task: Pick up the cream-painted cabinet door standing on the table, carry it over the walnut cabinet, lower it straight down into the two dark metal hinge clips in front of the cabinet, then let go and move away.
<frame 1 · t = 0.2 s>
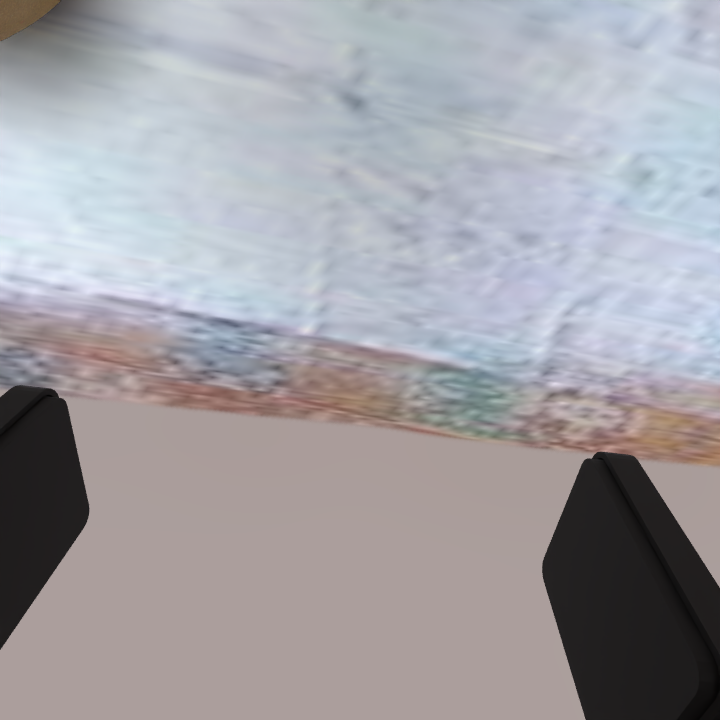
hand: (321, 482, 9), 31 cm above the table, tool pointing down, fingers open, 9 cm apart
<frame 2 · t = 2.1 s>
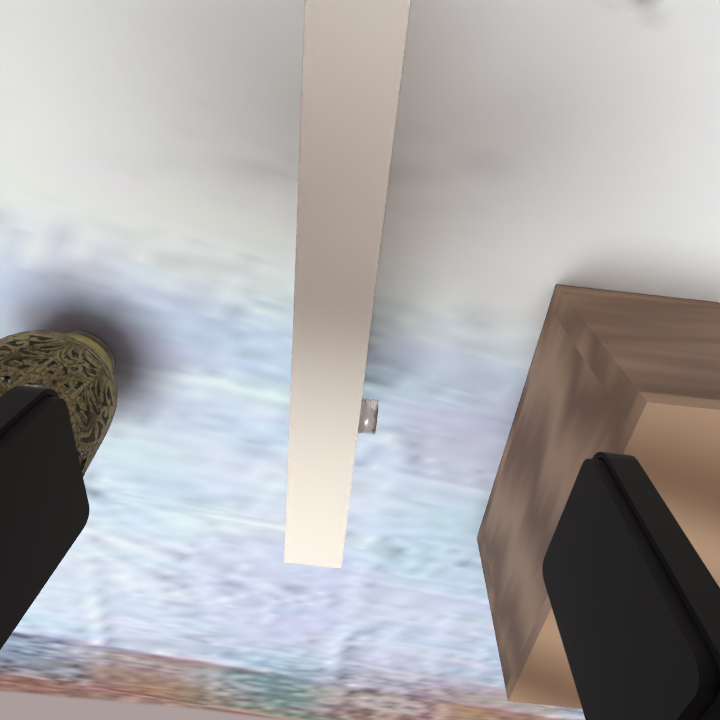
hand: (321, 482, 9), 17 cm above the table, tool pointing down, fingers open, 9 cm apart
cabinet body: (579, 438, 29), on the table
dark textured ornament: (88, 353, 28), on the table
cabinet door: (355, 220, 24), on the table
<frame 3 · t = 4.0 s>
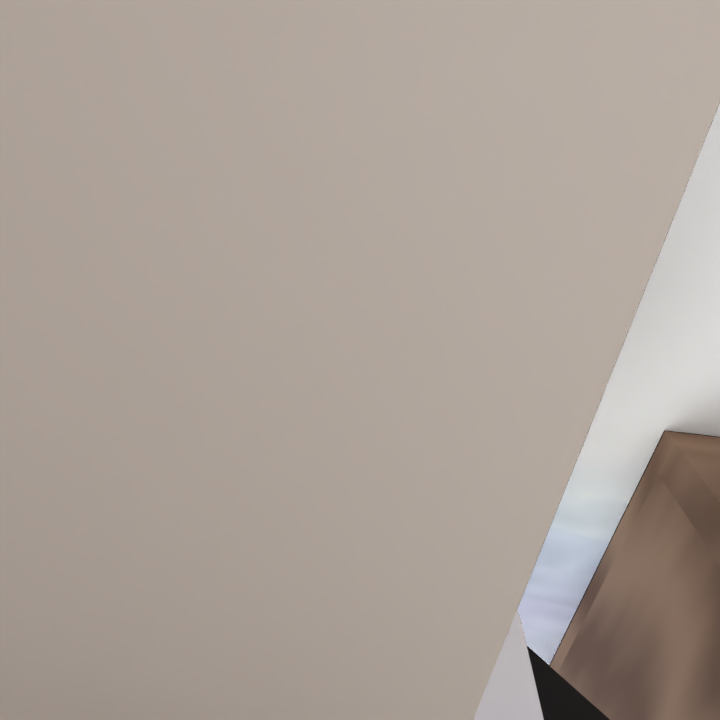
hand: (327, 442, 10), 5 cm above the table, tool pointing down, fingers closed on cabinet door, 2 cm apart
cabinet body: (676, 626, 20), on the table
cabinet door: (346, 338, 15), on the table, touching gripper
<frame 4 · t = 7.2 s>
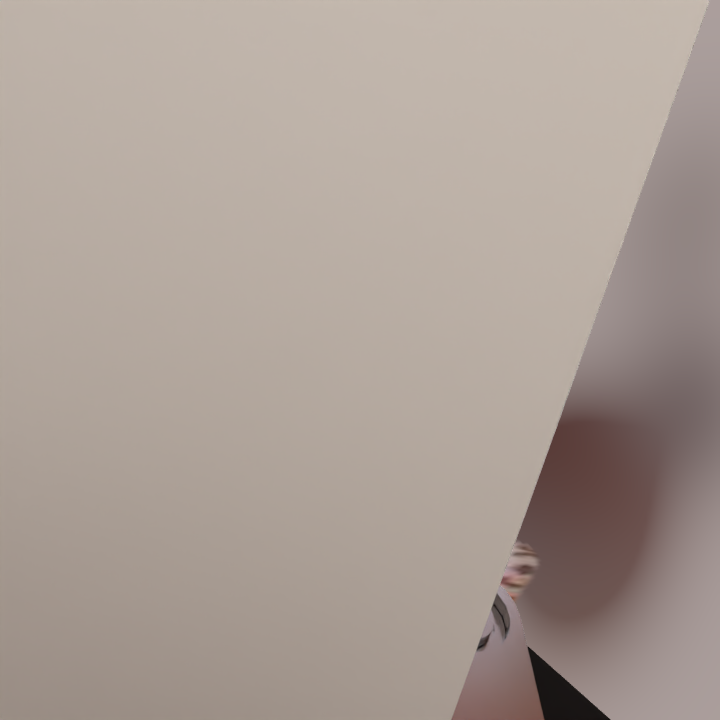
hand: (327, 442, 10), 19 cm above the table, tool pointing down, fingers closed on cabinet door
cabinet door: (346, 336, 15), point 15 cm above the table, touching gripper
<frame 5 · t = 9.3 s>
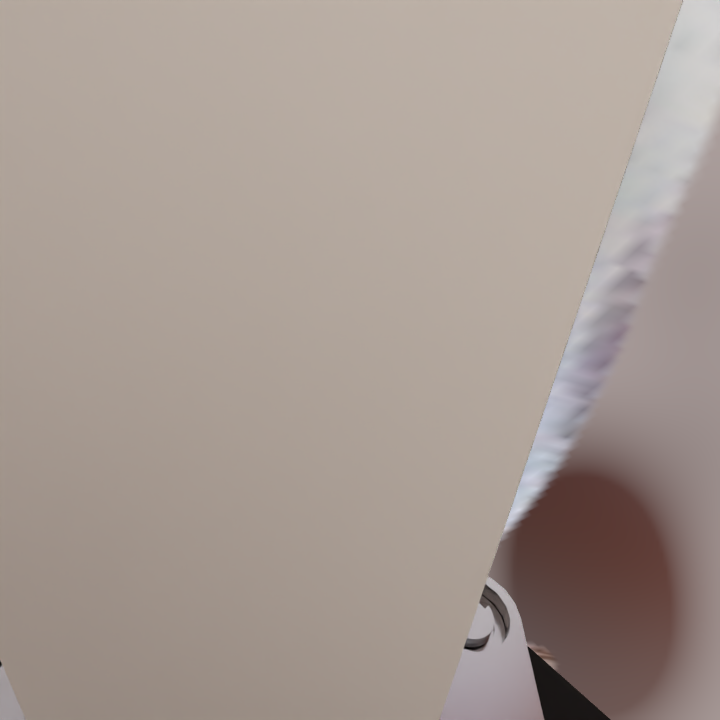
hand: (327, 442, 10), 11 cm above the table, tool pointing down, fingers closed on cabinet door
cabinet door: (347, 333, 15), point 6 cm above the table, touching gripper
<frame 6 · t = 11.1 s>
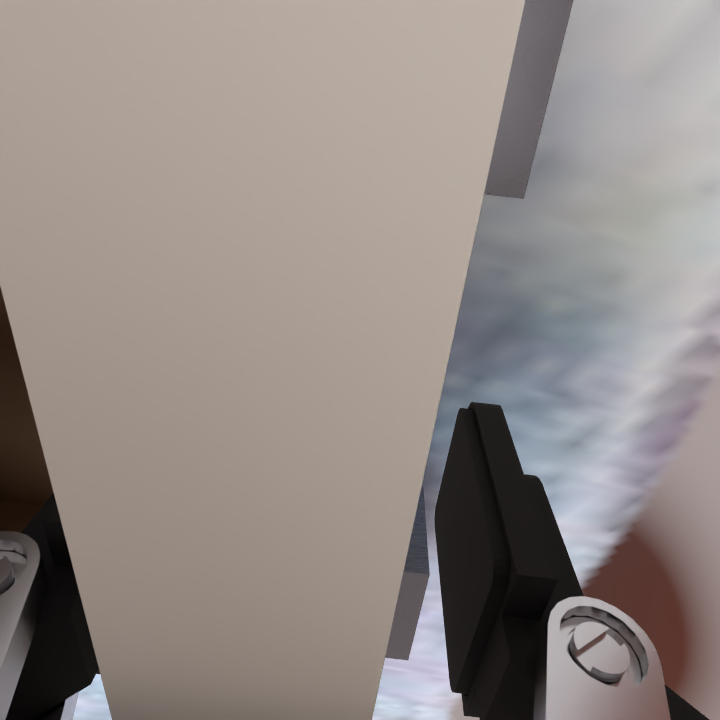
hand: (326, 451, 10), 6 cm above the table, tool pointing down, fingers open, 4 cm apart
cabinet door: (345, 319, 15), on the table
hinge clips: (348, 325, 15), on the table
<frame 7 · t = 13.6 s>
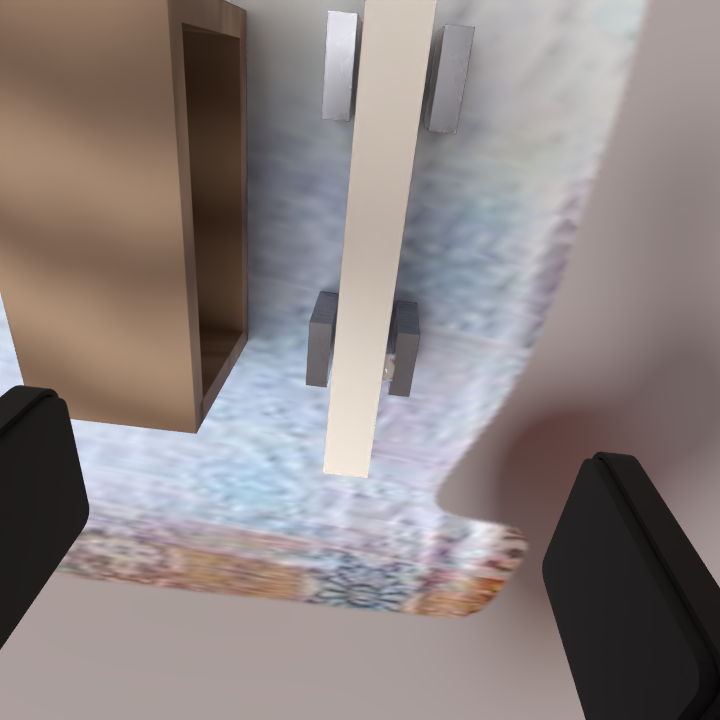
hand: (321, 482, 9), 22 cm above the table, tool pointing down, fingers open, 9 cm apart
cabinet body: (177, 192, 29), on the table
cabinet door: (376, 212, 29), on the table
hinge clips: (378, 215, 29), on the table
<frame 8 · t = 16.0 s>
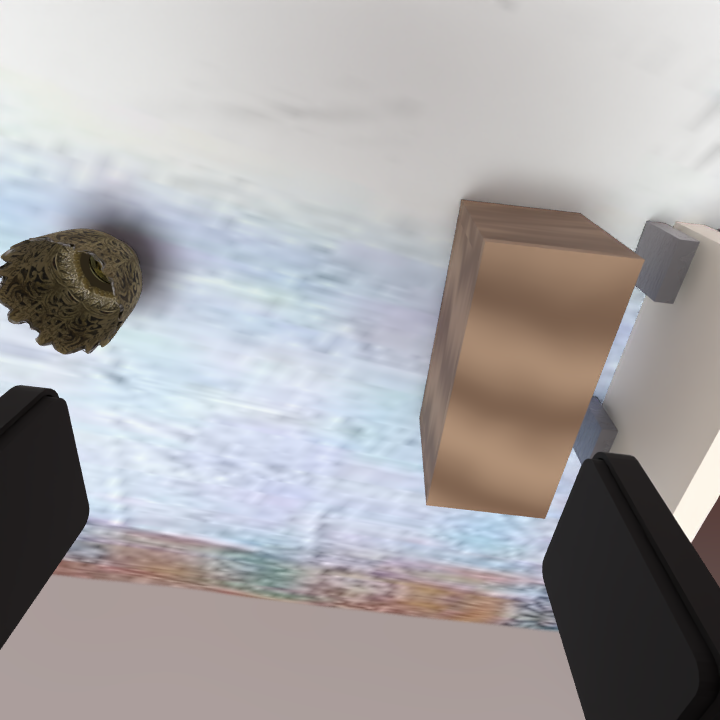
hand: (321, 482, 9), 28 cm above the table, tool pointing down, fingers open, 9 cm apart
cabinet body: (490, 327, 39), on the table
dark textured ornament: (120, 258, 38), on the table
cabinet door: (640, 341, 39), on the table
hinge clips: (641, 344, 39), on the table
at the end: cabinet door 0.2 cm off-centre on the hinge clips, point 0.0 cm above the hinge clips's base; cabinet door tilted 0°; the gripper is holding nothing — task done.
